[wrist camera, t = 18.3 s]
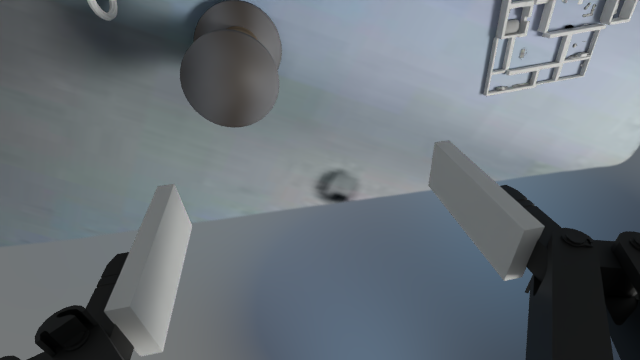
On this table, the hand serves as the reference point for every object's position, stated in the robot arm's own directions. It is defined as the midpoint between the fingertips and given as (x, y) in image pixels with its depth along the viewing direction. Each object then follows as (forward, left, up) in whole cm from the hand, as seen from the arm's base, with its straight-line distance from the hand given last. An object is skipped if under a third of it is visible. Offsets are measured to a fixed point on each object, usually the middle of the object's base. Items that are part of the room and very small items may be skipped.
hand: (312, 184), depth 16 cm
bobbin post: (-5, +1, -29) cm, 29 cm away
